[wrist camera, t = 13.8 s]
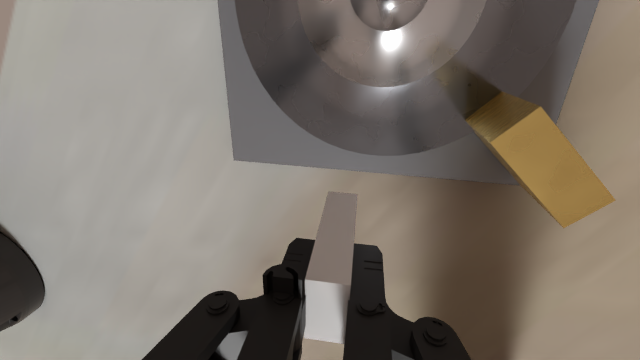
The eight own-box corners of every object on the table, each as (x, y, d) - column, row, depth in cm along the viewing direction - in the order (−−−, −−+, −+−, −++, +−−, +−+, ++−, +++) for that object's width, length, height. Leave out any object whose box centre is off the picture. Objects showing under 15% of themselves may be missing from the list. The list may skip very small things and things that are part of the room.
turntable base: (241, 154, 26) (232, 161, 24) (207, -229, 17) (188, -258, 15) (524, 177, 22) (536, 188, 21) (676, -284, 13) (718, -330, 12)
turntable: (420, 238, 24) (432, 298, 18) (192, 8, 20) (119, -5, 14) (690, 64, 17) (848, 75, 11) (415, -352, 13) (444, -664, 7)
